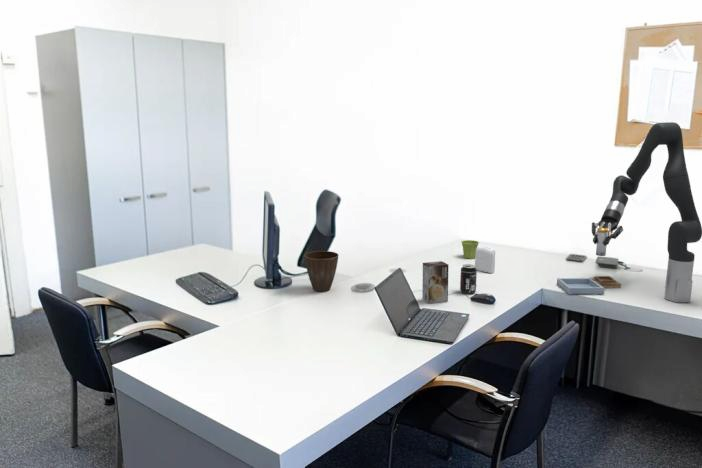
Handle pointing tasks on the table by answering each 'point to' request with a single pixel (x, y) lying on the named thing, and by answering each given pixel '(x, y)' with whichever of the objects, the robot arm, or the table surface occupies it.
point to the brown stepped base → (606, 281)
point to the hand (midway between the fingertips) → (599, 243)
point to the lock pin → (601, 241)
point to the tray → (580, 286)
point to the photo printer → (485, 259)
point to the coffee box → (435, 282)
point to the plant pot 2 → (469, 248)
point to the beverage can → (468, 279)
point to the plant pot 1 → (321, 269)
